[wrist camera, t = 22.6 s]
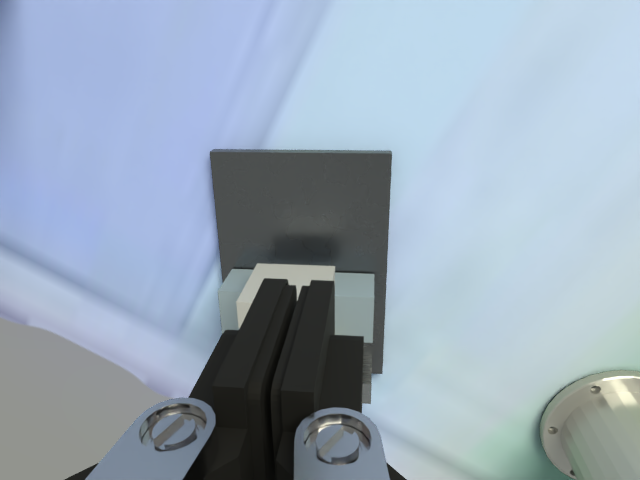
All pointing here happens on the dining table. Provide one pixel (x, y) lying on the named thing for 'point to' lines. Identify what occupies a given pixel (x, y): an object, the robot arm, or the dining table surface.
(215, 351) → the robot arm
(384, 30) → the dining table surface
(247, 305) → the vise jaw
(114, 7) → the dining table surface
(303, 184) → the panel
